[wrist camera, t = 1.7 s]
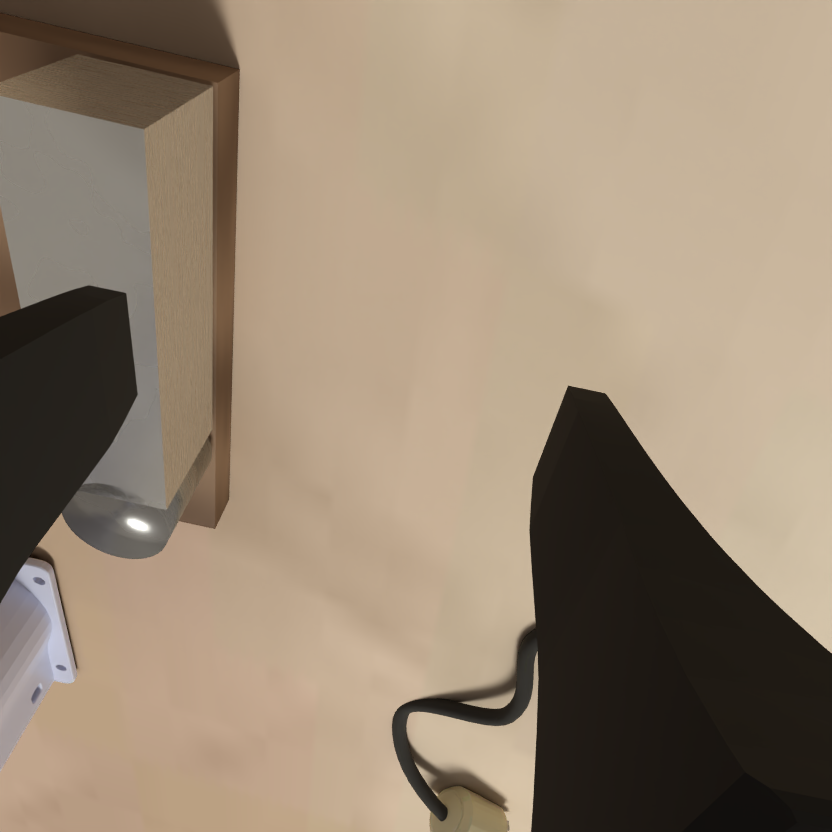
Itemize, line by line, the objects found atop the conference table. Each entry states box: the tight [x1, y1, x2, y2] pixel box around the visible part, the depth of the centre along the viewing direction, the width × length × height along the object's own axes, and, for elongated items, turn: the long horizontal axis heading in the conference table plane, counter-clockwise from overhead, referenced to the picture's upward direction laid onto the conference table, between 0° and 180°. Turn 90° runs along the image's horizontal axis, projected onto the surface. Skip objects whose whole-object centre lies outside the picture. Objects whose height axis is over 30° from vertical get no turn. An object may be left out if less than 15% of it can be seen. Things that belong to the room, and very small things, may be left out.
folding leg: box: [0, 54, 213, 559], centre depth 17 cm, size 12×3×4 cm, turn 169°
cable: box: [392, 629, 538, 832], centre depth 33 cm, size 16×16×4 cm
